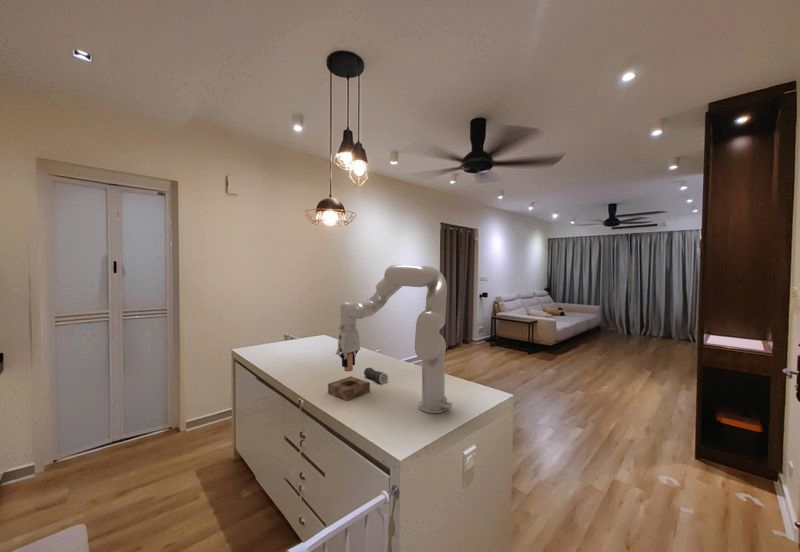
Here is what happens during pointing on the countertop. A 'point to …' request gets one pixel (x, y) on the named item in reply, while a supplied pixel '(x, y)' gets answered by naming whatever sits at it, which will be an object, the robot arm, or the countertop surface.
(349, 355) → the pin
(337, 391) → the walnut block
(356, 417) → the countertop surface
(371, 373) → the flashlight
